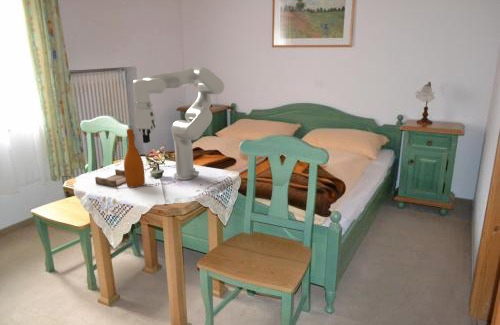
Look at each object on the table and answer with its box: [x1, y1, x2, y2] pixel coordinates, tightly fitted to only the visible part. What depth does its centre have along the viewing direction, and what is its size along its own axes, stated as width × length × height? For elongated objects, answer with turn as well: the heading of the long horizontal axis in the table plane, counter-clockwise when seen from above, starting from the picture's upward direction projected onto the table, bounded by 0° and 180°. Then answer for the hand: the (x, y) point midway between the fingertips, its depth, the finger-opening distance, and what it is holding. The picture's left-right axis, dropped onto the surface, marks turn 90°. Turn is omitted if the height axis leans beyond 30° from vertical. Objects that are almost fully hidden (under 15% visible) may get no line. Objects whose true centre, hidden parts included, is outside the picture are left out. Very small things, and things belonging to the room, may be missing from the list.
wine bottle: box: [123, 128, 146, 188], centre depth 200 cm, size 10×10×30 cm
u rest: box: [94, 169, 126, 188], centre depth 210 cm, size 14×15×4 cm
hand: (146, 142), depth 193 cm, fingers closed
